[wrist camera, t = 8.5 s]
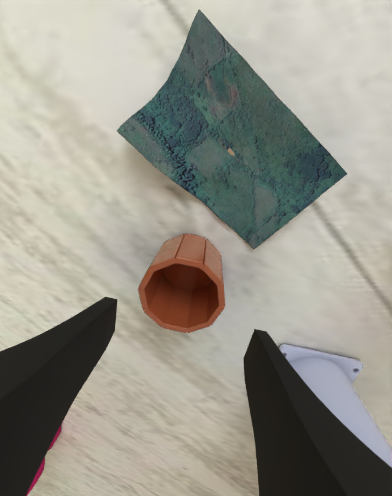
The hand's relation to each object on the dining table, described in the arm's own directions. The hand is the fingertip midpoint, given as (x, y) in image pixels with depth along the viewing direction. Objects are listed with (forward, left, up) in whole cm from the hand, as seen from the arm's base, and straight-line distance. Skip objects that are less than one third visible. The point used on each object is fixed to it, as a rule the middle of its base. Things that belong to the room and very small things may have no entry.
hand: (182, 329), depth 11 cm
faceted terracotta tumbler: (0, 0, -8) cm, 8 cm away
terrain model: (+9, -1, -8) cm, 12 cm away
